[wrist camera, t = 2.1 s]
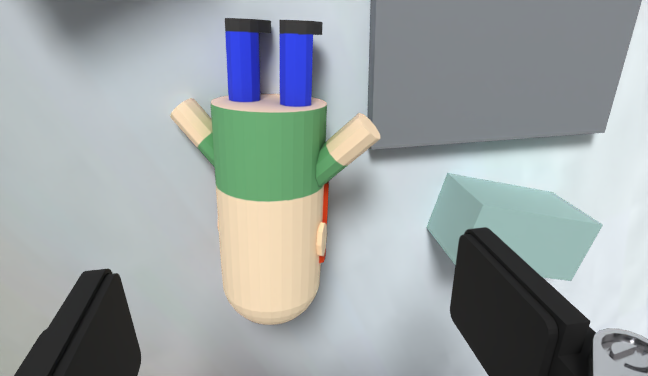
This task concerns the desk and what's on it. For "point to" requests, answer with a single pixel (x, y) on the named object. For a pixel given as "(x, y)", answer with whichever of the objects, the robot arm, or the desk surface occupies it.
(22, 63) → the desk surface
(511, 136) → the mat
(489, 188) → the teal brick
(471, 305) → the robot arm
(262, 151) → the toy figurine
